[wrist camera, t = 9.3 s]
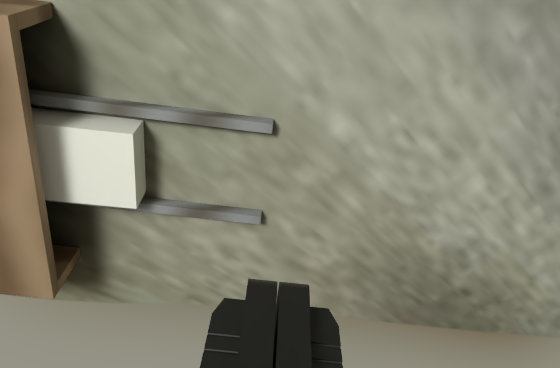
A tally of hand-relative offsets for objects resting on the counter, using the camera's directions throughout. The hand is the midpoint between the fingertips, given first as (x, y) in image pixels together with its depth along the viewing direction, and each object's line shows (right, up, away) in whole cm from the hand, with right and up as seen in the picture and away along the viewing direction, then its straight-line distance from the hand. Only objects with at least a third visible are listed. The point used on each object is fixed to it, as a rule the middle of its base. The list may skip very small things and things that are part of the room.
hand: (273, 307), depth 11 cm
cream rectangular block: (-17, +6, +25) cm, 31 cm away
